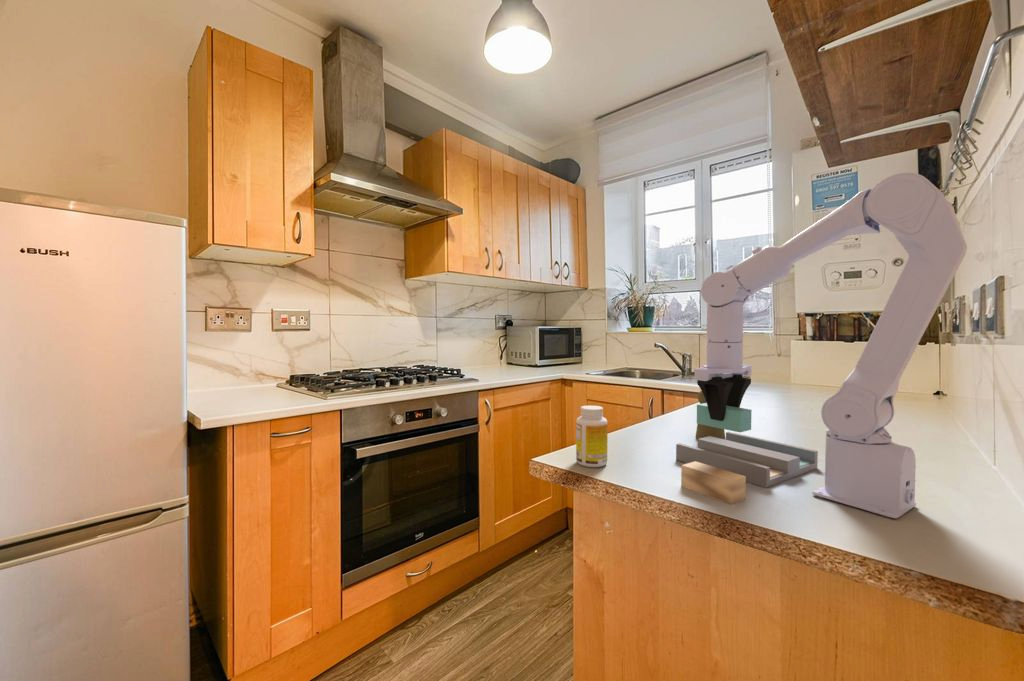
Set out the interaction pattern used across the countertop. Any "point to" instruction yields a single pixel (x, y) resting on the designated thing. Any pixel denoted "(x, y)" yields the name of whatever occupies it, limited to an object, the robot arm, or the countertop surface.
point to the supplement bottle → (591, 437)
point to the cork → (707, 430)
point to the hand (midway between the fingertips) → (723, 418)
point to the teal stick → (726, 418)
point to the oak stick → (714, 482)
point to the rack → (751, 457)
